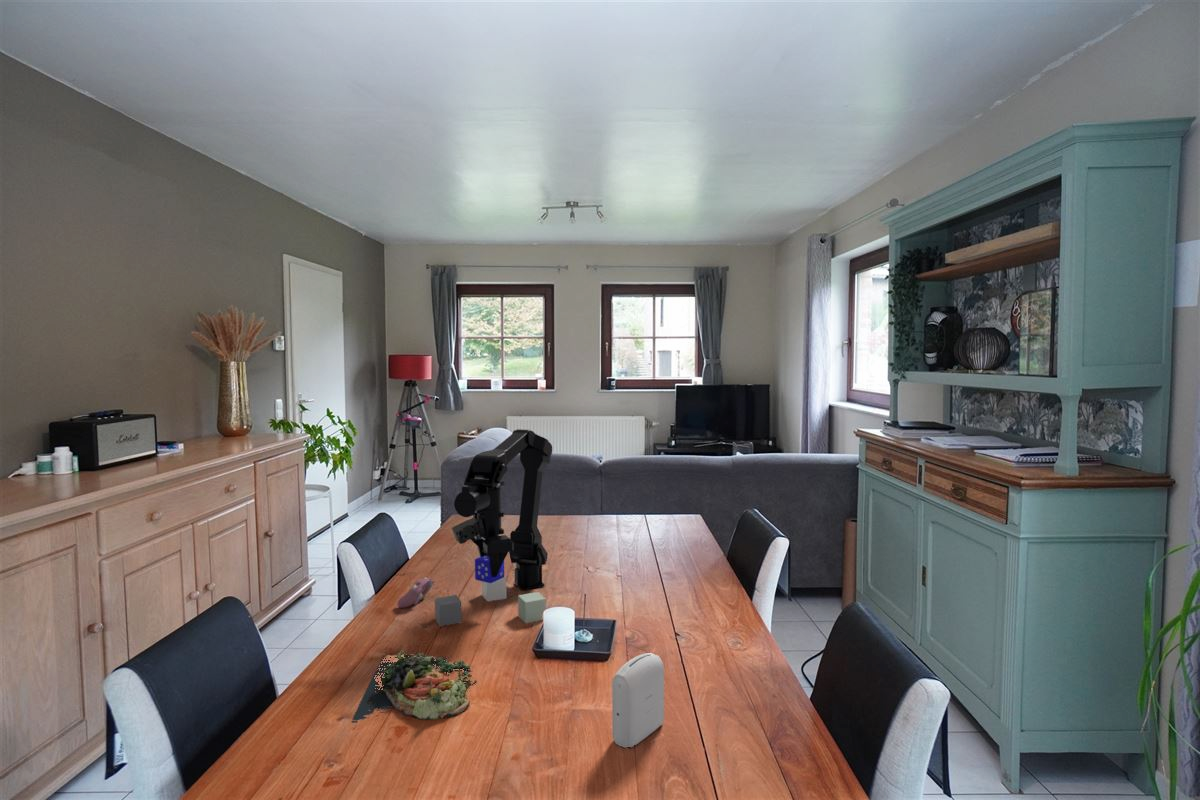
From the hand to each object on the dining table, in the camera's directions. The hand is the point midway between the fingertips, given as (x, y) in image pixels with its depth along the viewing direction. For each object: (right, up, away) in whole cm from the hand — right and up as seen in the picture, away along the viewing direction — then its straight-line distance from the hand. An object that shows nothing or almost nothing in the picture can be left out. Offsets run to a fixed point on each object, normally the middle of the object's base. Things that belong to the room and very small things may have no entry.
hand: (489, 572), depth 153 cm
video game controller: (-20, -10, +8) cm, 23 cm away
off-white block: (-1, -9, +11) cm, 15 cm away
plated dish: (-5, -13, -35) cm, 37 cm away
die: (0, -2, 0) cm, 2 cm away
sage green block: (+10, -10, -2) cm, 15 cm away
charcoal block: (-9, -10, -4) cm, 14 cm away
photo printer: (+32, -13, -49) cm, 60 cm away
